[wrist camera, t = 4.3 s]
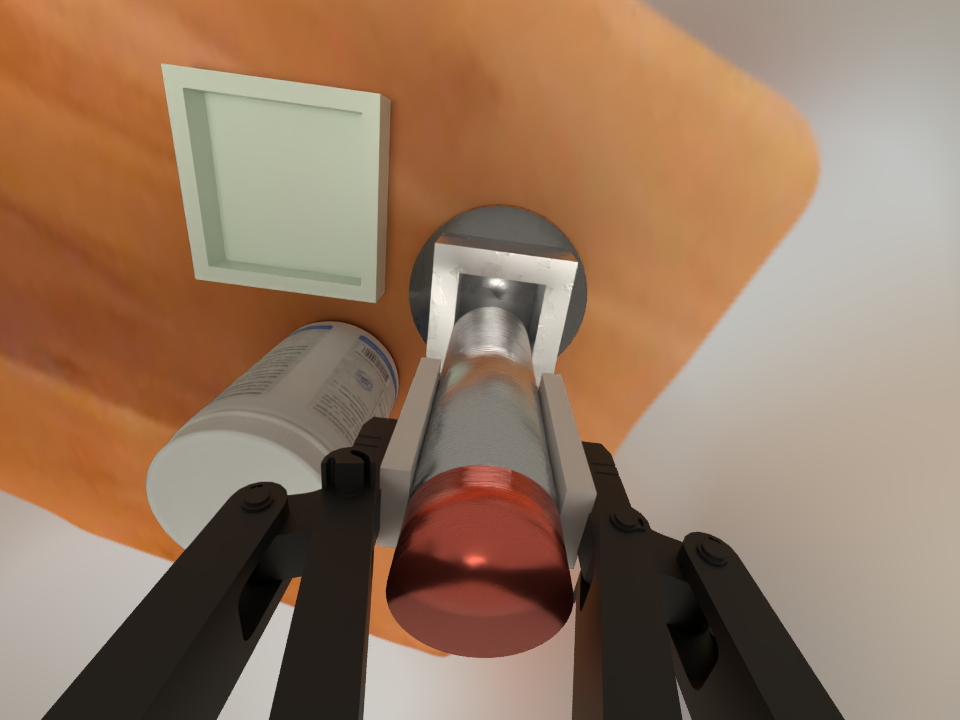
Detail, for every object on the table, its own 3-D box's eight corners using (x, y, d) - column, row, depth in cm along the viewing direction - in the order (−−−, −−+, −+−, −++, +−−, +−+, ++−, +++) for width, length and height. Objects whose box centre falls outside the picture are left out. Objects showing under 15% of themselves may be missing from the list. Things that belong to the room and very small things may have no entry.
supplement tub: (277, 409, 35) (142, 558, 22) (284, 302, 32) (125, 405, 18) (392, 436, 36) (329, 598, 23) (413, 335, 32) (351, 458, 19)
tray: (218, 270, 31) (195, 279, 28) (191, 71, 26) (160, 63, 23) (385, 292, 31) (375, 303, 29) (391, 99, 26) (380, 93, 23)
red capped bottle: (446, 374, 23) (383, 647, 10) (454, 301, 21) (389, 520, 8) (521, 383, 23) (553, 666, 10) (535, 312, 21) (594, 544, 8)
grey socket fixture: (409, 359, 33) (392, 394, 28) (418, 192, 28) (400, 199, 23) (563, 379, 33) (574, 418, 28) (601, 217, 28) (623, 230, 23)
